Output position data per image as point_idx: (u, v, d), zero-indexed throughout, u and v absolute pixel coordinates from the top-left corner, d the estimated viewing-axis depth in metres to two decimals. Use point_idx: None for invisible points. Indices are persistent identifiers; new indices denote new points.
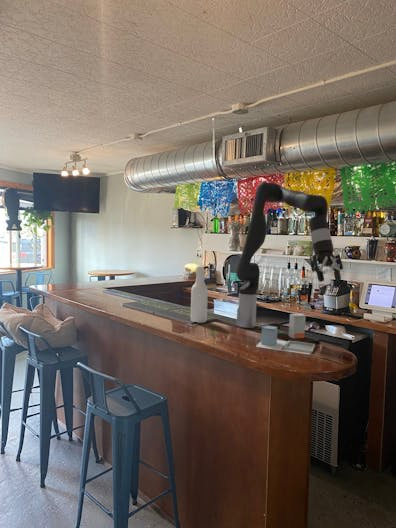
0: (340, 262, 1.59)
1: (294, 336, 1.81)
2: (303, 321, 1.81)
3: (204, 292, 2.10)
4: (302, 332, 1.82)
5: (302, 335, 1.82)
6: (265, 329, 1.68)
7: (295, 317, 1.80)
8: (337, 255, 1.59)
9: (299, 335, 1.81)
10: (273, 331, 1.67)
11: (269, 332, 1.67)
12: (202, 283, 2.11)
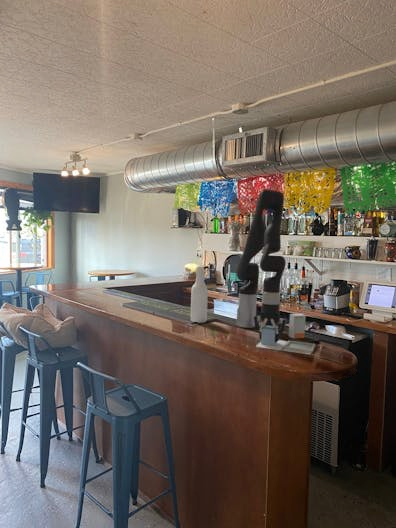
0: (282, 326, 1.67)
1: (294, 336, 1.81)
2: (303, 321, 1.81)
3: (204, 292, 2.10)
4: (302, 332, 1.82)
5: (302, 335, 1.82)
6: (265, 329, 1.68)
7: (295, 317, 1.80)
8: (283, 319, 1.67)
9: (299, 335, 1.81)
10: (273, 331, 1.67)
11: (269, 332, 1.67)
12: (202, 283, 2.11)
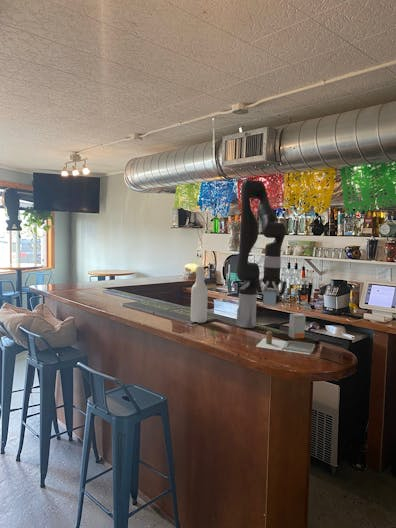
0: (283, 288, 1.79)
1: (294, 336, 1.81)
2: (303, 321, 1.81)
3: (204, 292, 2.10)
4: (302, 332, 1.82)
5: (302, 335, 1.82)
6: (267, 291, 1.80)
7: (295, 317, 1.80)
8: (283, 281, 1.79)
9: (299, 335, 1.81)
10: (274, 292, 1.79)
11: (270, 294, 1.80)
12: (202, 283, 2.11)
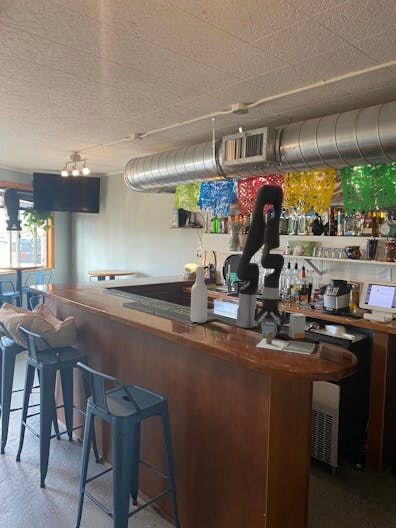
0: (283, 318, 1.80)
1: (294, 336, 1.81)
2: (303, 321, 1.81)
3: (204, 292, 2.10)
4: (302, 332, 1.82)
5: (302, 335, 1.82)
6: (265, 325, 1.82)
7: (295, 317, 1.80)
8: (282, 311, 1.80)
9: (299, 335, 1.81)
10: (273, 327, 1.80)
11: (269, 328, 1.81)
12: (202, 283, 2.11)
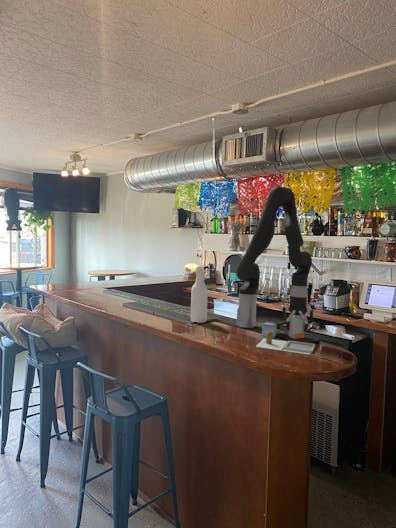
0: (310, 317, 1.79)
1: (294, 336, 1.81)
2: (303, 321, 1.81)
3: (204, 292, 2.10)
4: (302, 332, 1.81)
5: (302, 335, 1.82)
6: (265, 325, 1.82)
7: (295, 317, 1.80)
8: (310, 310, 1.79)
9: (299, 335, 1.81)
10: (273, 327, 1.80)
11: (269, 328, 1.81)
12: (202, 283, 2.11)
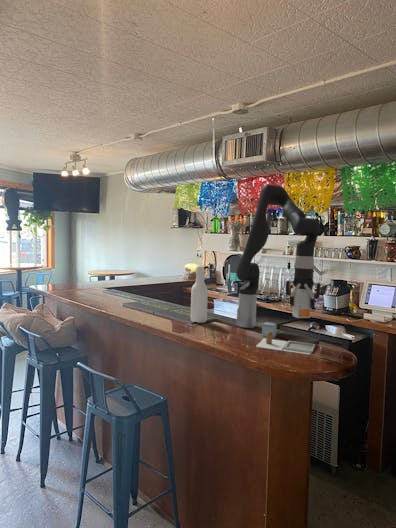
0: (317, 291, 1.60)
1: (299, 312, 1.62)
2: (309, 296, 1.62)
3: (204, 292, 2.10)
4: (308, 308, 1.63)
5: (308, 311, 1.63)
6: (265, 325, 1.82)
7: (300, 291, 1.61)
8: (317, 283, 1.60)
9: (304, 311, 1.62)
10: (273, 327, 1.80)
11: (269, 328, 1.81)
12: (202, 283, 2.11)
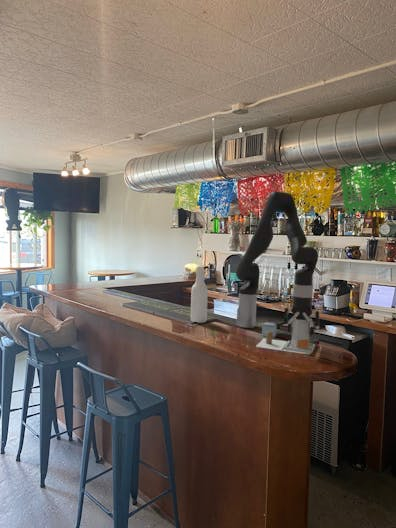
0: (316, 319, 1.61)
1: (298, 343, 1.63)
2: (307, 326, 1.63)
3: (204, 292, 2.10)
4: (306, 338, 1.64)
5: (306, 342, 1.64)
6: (265, 325, 1.82)
7: (299, 322, 1.62)
8: (316, 311, 1.61)
9: (303, 342, 1.63)
10: (273, 327, 1.80)
11: (269, 328, 1.81)
12: (202, 283, 2.11)
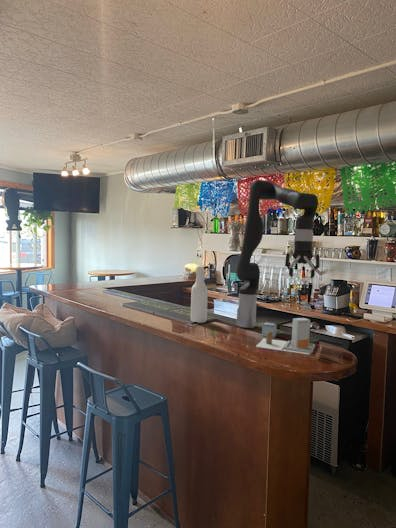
0: (317, 262, 1.68)
1: (298, 343, 1.63)
2: (307, 326, 1.63)
3: (204, 292, 2.10)
4: (306, 338, 1.64)
5: (306, 342, 1.64)
6: (265, 325, 1.82)
7: (299, 322, 1.62)
8: None
9: (303, 342, 1.63)
10: (273, 327, 1.80)
11: (269, 328, 1.81)
12: (202, 283, 2.11)
